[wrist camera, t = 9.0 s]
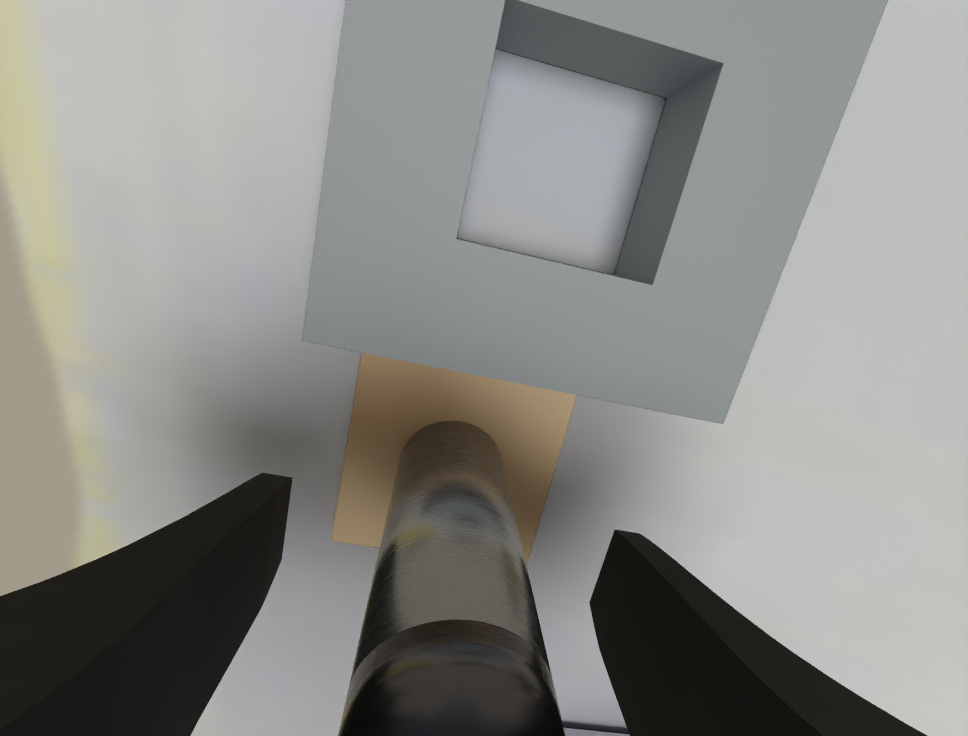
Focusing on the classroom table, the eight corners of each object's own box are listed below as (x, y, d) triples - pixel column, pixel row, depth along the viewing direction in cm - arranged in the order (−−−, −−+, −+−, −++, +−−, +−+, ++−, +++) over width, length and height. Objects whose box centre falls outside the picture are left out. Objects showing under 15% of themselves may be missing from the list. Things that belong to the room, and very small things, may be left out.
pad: (523, 560, 15) (525, 569, 15) (334, 532, 14) (331, 541, 14) (574, 387, 14) (577, 391, 13) (365, 345, 13) (362, 349, 12)
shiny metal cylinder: (499, 513, 14) (559, 853, 6) (398, 514, 14) (334, 867, 6) (505, 421, 13) (582, 684, 6) (397, 419, 13) (323, 691, 5)
